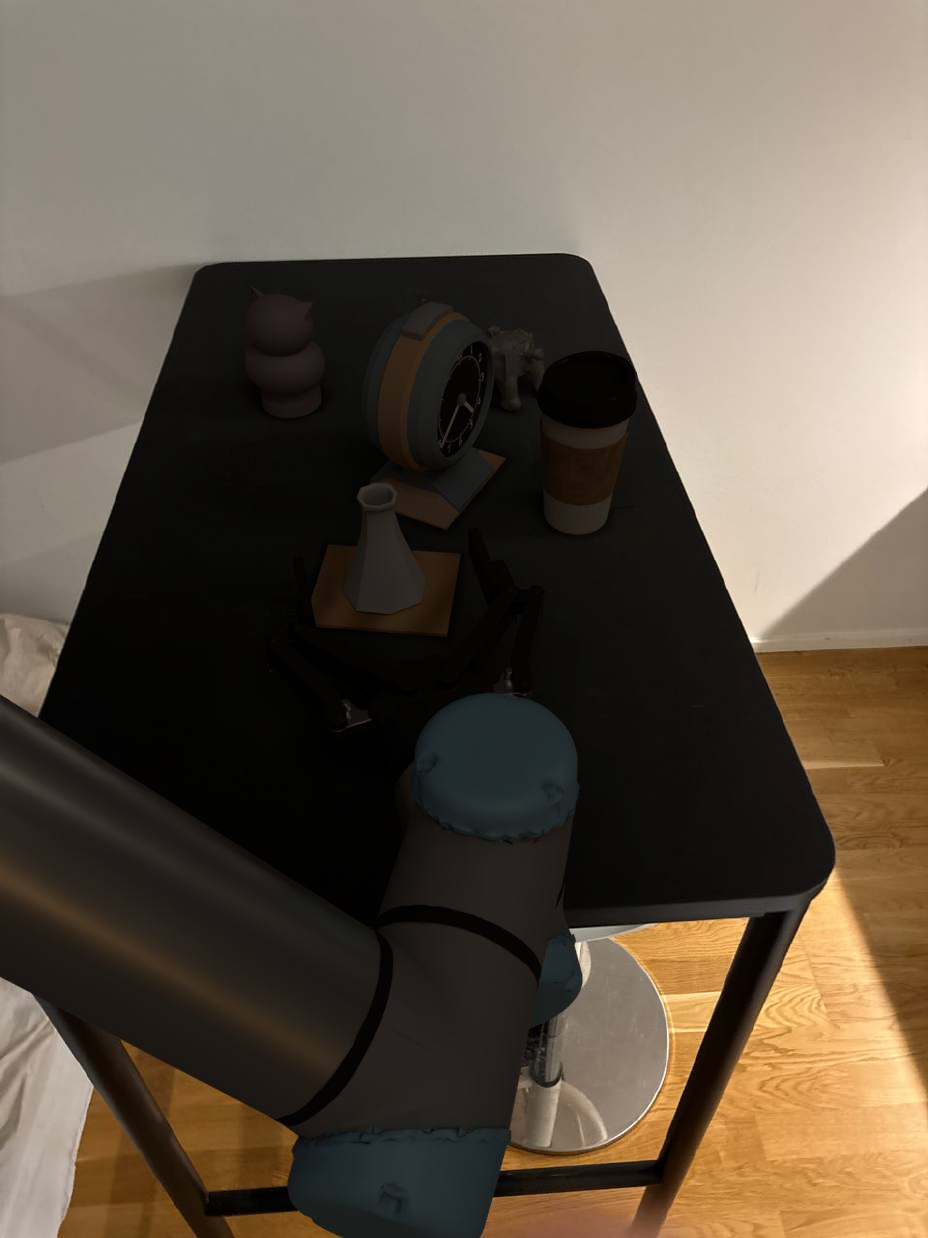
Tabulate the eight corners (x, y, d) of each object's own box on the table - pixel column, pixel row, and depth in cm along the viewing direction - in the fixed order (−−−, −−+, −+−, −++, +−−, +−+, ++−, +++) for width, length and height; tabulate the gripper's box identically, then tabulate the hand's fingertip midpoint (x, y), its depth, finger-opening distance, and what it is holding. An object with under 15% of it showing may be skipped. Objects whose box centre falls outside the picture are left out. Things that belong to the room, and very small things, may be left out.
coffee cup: (639, 521, 91) (662, 379, 80) (568, 556, 88) (581, 412, 77) (582, 476, 96) (596, 336, 85) (512, 507, 92) (517, 366, 82)
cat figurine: (236, 409, 104) (215, 304, 96) (279, 374, 109) (263, 271, 101) (303, 430, 102) (287, 324, 93) (344, 393, 106) (333, 289, 98)
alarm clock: (440, 536, 90) (435, 364, 77) (350, 505, 93) (332, 335, 80) (510, 454, 98) (515, 288, 86) (425, 428, 102) (419, 264, 89)
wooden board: (303, 626, 82) (303, 622, 81) (328, 547, 89) (328, 544, 88) (446, 637, 81) (446, 634, 80) (460, 556, 88) (460, 553, 87)
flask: (420, 554, 87) (416, 462, 80) (433, 611, 82) (429, 518, 75) (339, 564, 86) (327, 472, 79) (346, 622, 81) (334, 529, 74)
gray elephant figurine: (557, 384, 107) (561, 320, 102) (515, 443, 100) (517, 376, 94) (479, 366, 110) (480, 302, 105) (433, 422, 103) (430, 356, 97)
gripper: (259, 850, 62) (232, 618, 76) (633, 770, 66) (540, 564, 80) (239, 780, 56) (214, 545, 71) (647, 698, 60) (544, 491, 75)
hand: (387, 555), depth 76 cm, fingers open, 13 cm apart
